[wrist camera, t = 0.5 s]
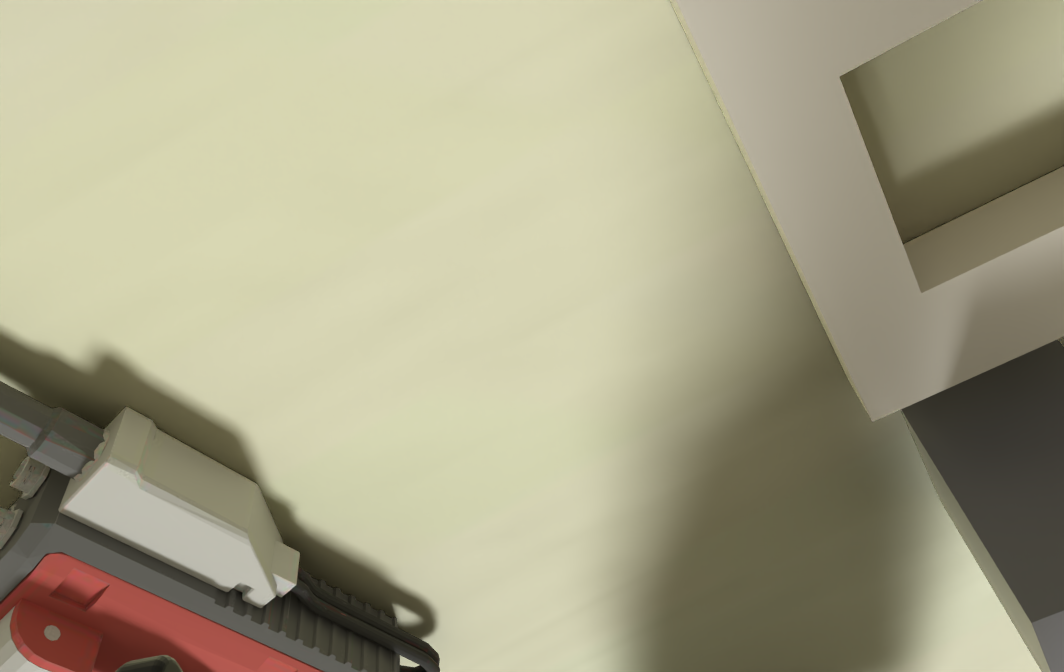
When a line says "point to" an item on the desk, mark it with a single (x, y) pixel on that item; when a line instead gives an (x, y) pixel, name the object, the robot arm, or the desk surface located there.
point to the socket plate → (875, 202)
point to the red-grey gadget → (162, 562)
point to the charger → (1006, 485)
